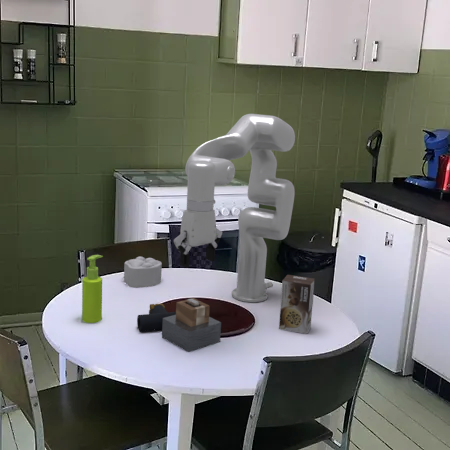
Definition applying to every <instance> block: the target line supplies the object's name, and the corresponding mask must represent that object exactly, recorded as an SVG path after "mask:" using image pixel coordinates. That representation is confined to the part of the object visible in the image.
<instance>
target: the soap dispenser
mask: <svg viewBox="0 0 450 450" xmlns="http://www.w3.org/2000/svg"><path fill="white" fill-rule="evenodd" d="M103 257H104V256H103V255H100V254H92V255H90V256H88V257H87V261H89V266H87V267H86V276H85V277H83V278H82V281H81V283H82V289H81V290H82V291H81V292H82V293H81V294H82V298H81V300H82V301H81V303H82V304H81V321H82V322H84V323H86V324H95V323H97V324H98V323H99V322H101V321H102V317H103V278H102V277H101V276H99V267H98V266H96V260H97V259H100V258H103Z"/></svg>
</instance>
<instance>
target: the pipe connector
mask: <svg viewBox="0 0 450 450" xmlns="http://www.w3.org/2000/svg"><path fill="white" fill-rule="evenodd" d="M173 315H176V311H172V312H171V311H170V312H168V310H167V309H166V306H165V305H164V304H163V303H150V304H149V310H148V313H146V314H137V318H136V319H137V320H136V321H137V330H138V332H140V333H142V332H152V331H162V324H163V318H165V317H169V316H173Z"/></svg>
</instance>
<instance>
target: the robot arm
mask: <svg viewBox="0 0 450 450" xmlns="http://www.w3.org/2000/svg"><path fill="white" fill-rule="evenodd" d="M295 140H296V133H295V130H294V129H293V127H292V126H291V125H290V124H288V123H287V122H286V121H285V120H283V119H281V118H280V117H278V116H275V115H269V114H258V113H247V114H244V115H243V116H241V117H240V118H239V119H238V120H237V122H236V123H234V124H233V126H232V127H231V128H230V129H229V131H228V132H227V133H226V134H225V135H221V136H219V137H216V138H214V139H211V140H208V141H206V142H204V143H202V144H200V145H199V146H198V147H196V149H194V151H193V152H192V153H191V154H190V156H189V157H188V158H187V161H186V164H185V168H184V169H185V174H186V176H187V186H186V187H187V191H186V209H184V210H183V213H182V217H181V223H180V231H179V232H180V233H179V235H178V236H177V237H175V238H173V243H174V245H175V249H177V251H178V253H180V255H179V263H180V266H181V267H183V268H186V269H187V268H189V267H190V254H189V251H190V250H191V249H192V247H198V246H204V245H206V251H205V259H206V261H210V262H212V263H213V262H215V261H216V260H215V258H216V256H215V255H216V248H217V247H218V244H219V243H220V241H221V238H222V235H223V231H222V230H220V229H219V228H217V220H216V219H217V217H216V211H215V209H214V205H215V204H216V200H215V186H225V185H228V184H230V183H231V182H232V181H233V179H234V178H235V175H236V169H235V165H234V163H233V162H232V161H231V160H237V159H240V158H243V157H245V156H246V155H247V154H248V153H250V157H251V167H250V174H249V180H248V185H247V186H248V187H247V198H248V200H249V201H250V202H251V203H254V204H258V205H264V206H270V207H274V208H275V210H272V209H268V208H261V207H255V206H254V207H253V206H250V207H245V208H243V209H242V210H240V212H239V215H238V218H237V219H238V220H237V221H238V233H239V234H238V235H239V245H238V249H239V250H238V262H237V263H238V264H237V278H236V288H234V289H232V291H231V297H232V298H234V299H235V300H238V301H241V302H244V303H245V302H246V303H260V302H263V301H266V300H267V299H268V296H269V295H268V292H267V291H266V290H267V289H271V288H273V286H274V283H273V282H272V281H268V282H265V279H266V267H267V266H266V265H267V255H268V254H267V253H268V247H267V244H266V242H265V240H264V239H270V240H275V241H281V240H284V239H285V238H287V236H288V234H289V230H290V226H291V220H292V214H293V208H294V201H295V194H296V192H295V191H296V190H295V186H294V184H293V183H292V181H290V180H288V179H285V178H278V177H277V176H276V175H277V167H278V161H277V158H276V156H275V154H274V152H273V151H276V152H285V153H286V152H289V151H291V149H292V148H293V147H294V145H295Z"/></svg>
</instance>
